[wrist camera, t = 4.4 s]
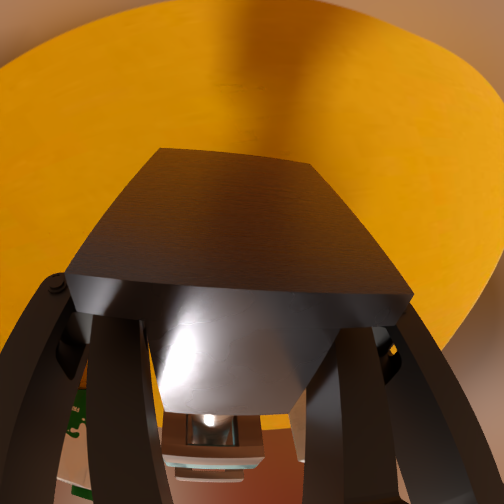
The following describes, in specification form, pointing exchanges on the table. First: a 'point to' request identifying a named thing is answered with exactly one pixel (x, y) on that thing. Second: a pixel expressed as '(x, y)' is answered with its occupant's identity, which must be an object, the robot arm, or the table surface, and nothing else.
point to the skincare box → (299, 425)
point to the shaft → (234, 279)
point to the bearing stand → (211, 448)
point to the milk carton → (76, 451)
